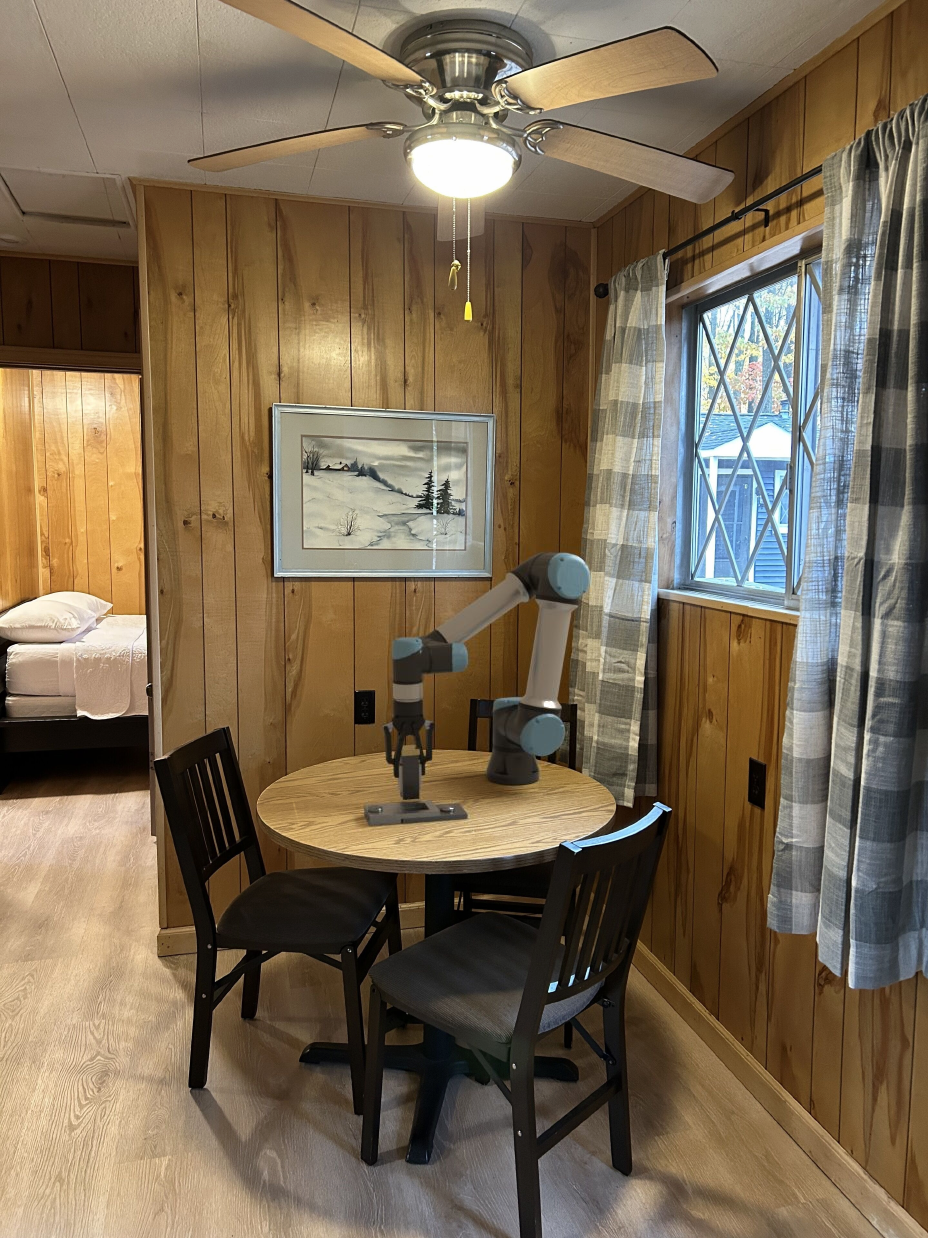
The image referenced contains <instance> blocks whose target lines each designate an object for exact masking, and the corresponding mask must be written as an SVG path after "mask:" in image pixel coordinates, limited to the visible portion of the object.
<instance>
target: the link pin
mask: <svg viewBox="0 0 928 1238" xmlns="http://www.w3.org/2000/svg"><path fill="white" fill-rule="evenodd" d="M419 755H420V749H419V748H417V747H416V745H415V744H409V745H408V744H407V745H403V747H402V749H401V758H400V764H401V765H402V784H403V791H399V794H400V798H401V799H402V801H410V800H420V799H421V798H420V797H421V796H420V793H421V792H420V790H419Z"/></svg>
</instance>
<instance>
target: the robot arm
mask: <svg viewBox="0 0 928 1238" xmlns="http://www.w3.org/2000/svg"><path fill="white" fill-rule="evenodd" d="M590 583H591V573H590V569H589V566H588V565H587V563H586V562H585V561H584V560H583V559H582V558H581V557H579V556H578V555H576V554H572V553H568V552H551V551H544V552H543V551H542V552H539V553H536V554H535V555H533V556H531V557H529V558H527V559H526V560H525V561H523V562H522V563H520V564H519V565H517V566H516V567H514V568H513V569H512V570H510V571H509V572H508V573H506V575H505V579H504V580H503V581H501V582H499V583H498V584H497V585H496V586H494V587H493V588H491V589H490V590H489V591H487V592H485V593H484V594H483V595H481V596H480V597H478V598H477V599H476V600H475V601H473V602H472V603H470V604H469V605H467V606H466V607H464V608H463V609H462V610H460V611H459V612H457V613H456V614H455V615H454V616H452V617H451V618H449V619H448V620H446V621H444V622H443V623H442V624H441V625H439V626H438V627H436V628H435V629H433V630H432V631H431V632H428V633H427V634H426V635H420V636H416V637H415V636H413V637H411V636H410V637H407V636H405V637H397V638H395V639H394V640H393V641H392V647H391V664H392V665H391V666H392V698H393V701H392V703H393V705H392V709H393V712H392V714H393V716H392V719H391V722H389V723H387V724H385V723H384V724H382V725H381V728H382V730H383V733H384V747H385V748H384V749H385V761H386V762H387V764H388V765H392V767H393V769H392V770H393V777H394V778H395V779H397V789H398V791H399V792H400V791H403V784H402V765H401V764H400V758H401V749H402V747H403V746H404V741H405V739H406V737H408V736H412V737H413V741H414V745H416V747H417V748H419V749H420V755H419V791H420V790H422V788H423V787H422V786H423V784H422V776H426V764H427V763H428V762H431V761H432V760H433V732H434V729H435V726H436V723H435V722H433V721H432V720H426V718H425V716H424V701H423V699H422V698H423V697H424V693H423V692H424V691H423V689H424V687H423V682H424V681H423V679H424V678H423V675H431V674H448V673H453V674H454V673H457V672H464V671H465V670H467V667H468V664H469V655H468V654H469V653H468V649H467V647H466V645H465V644H464V643H465V642H467V641H468V640H469V639H471V638H473V637H474V636H476V635H477V634H478V633H479V632H481V631H482V630H483V629H485V628H486V627H488V626H489V625H491V624H492V623H493V622H495V621H496V620H497V619H499V618H501V617H502V616H503V615H504V614H506V613H507V612H509V611H510V610H512V609H513V608H514V607H516V606H518V604H520V603H527V602H529V601H531V600H532V599H533V598H534V599H535V602H536V603H537V605H538V606H539V609H538V615H537V616H538V617H537V622H536V629H535V633H534V634H535V635H534V641H533V646H532V654H531V658H530V659H531V660H530V666H529V670H528V671H529V673H528V678H527V684H526V691H525V694H524V695H523V696H522V697H521V696H520V697H519V696H514V697H512V696H511V697H501V698H497V699H495V700H494V701H493V705H492V706H493V707H492V708H493V709H492V752H491V755H490V757H489V761H488V764H487V767H486V772H485V774H486V775H485V776H486V779H487V780H488V781H489V782H492V783H496V784H501V785H508V786H509V785H510V786H513V785H514V786H515V785H516V786H517V785H527V784H528V785H529V784H533V783H536V782H537V781H539V780H540V777H541V776H540V768H539V764H538V761H537V758H536V756H539V757H544V756H549V755H551V754H553V753H555V752H556V751H557V750H558V749H559V748H560V747H561V745H562V744H563V742H564V740H565V736H566V728H565V725H564V722H563V721H562V719H561V713H562V705H561V704H560V703H559V700H558V696H559V690H560V684H561V679H562V678H561V677H562V671H563V665H564V659H565V653H566V647H567V641H568V635H569V629H570V623H571V617H572V613H573V611H575V610H576V609H577V608H578V607H579V603H580V597H582V596H583V595H584V594H586V593H587V591H588V589H589V588H590ZM423 726H424V728H425V752H424V750H423V746H422V740H421V734H420V731H421V729H422V728H423ZM393 727H394V729H395V730H396V731H397V738H396V743H395V748H394V749H395V750H394V754H393V753H392V752H393V750H392V734H391V733H392V732H393ZM424 753H425V754H424Z"/></svg>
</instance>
